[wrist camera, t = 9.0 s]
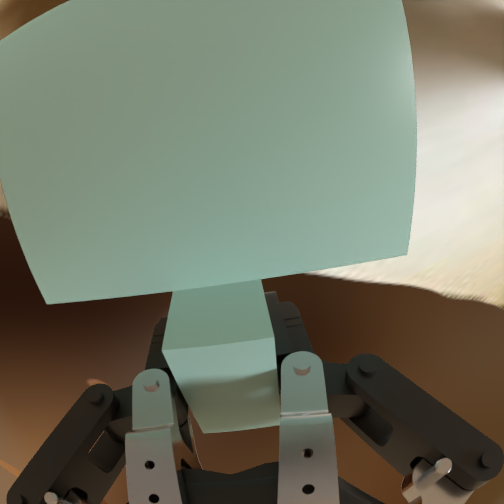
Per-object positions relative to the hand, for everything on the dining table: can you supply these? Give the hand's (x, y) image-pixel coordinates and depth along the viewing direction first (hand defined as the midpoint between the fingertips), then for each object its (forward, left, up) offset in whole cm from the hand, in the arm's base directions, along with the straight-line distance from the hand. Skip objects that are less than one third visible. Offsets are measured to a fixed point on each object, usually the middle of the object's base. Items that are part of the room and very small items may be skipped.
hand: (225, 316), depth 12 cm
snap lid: (0, -5, 0) cm, 5 cm away
